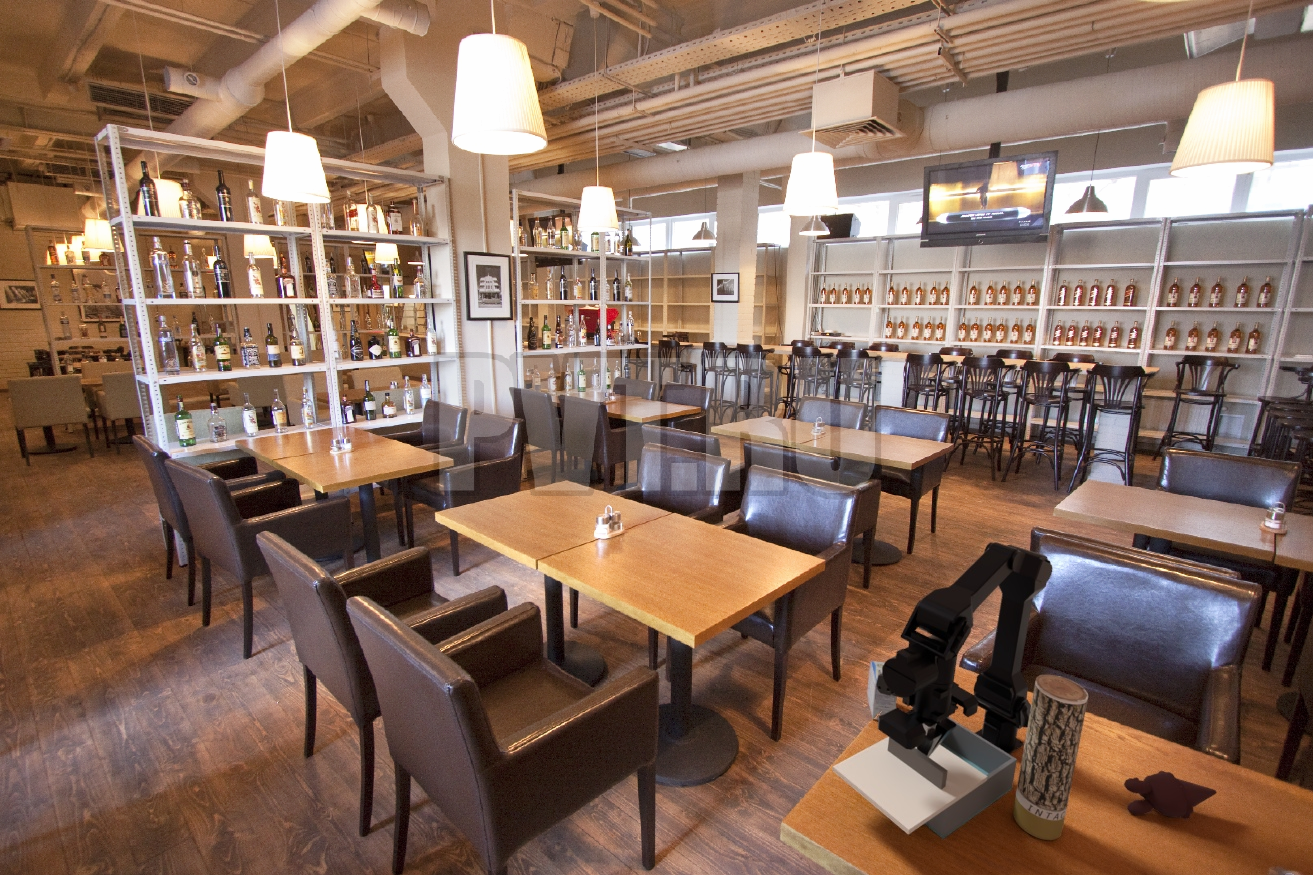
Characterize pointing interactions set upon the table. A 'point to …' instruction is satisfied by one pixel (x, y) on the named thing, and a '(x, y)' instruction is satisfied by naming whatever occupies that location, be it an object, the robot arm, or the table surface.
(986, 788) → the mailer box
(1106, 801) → the table surface
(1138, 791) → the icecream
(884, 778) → the lid
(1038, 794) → the paper tube
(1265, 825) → the table surface
